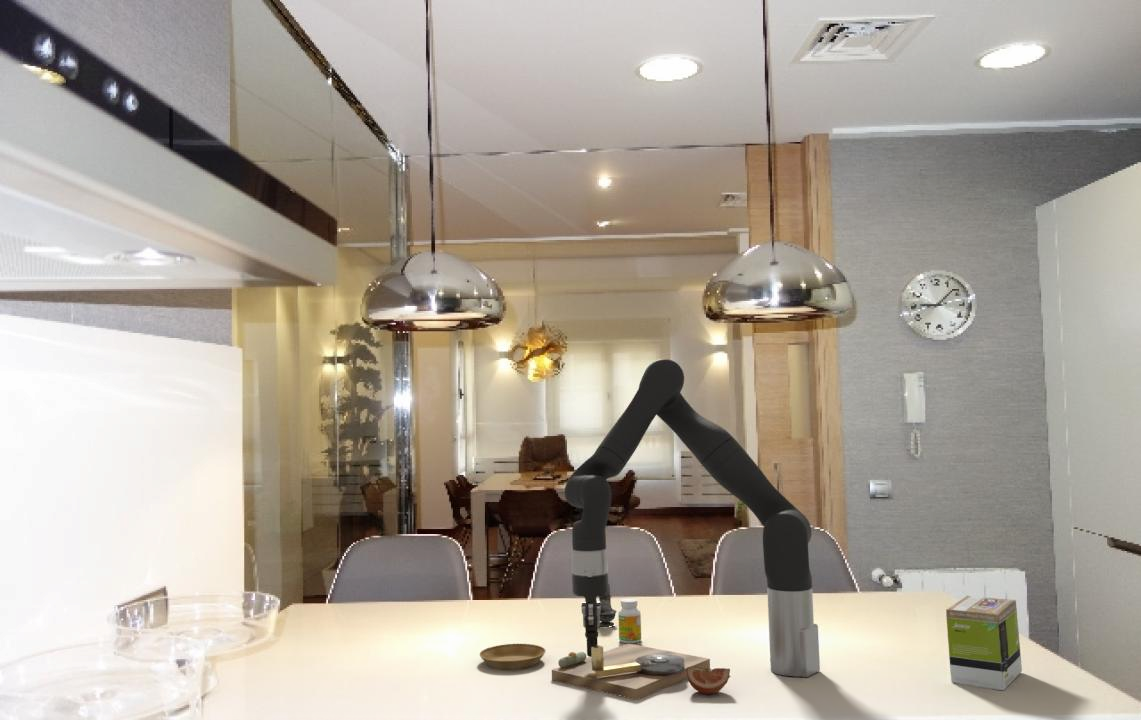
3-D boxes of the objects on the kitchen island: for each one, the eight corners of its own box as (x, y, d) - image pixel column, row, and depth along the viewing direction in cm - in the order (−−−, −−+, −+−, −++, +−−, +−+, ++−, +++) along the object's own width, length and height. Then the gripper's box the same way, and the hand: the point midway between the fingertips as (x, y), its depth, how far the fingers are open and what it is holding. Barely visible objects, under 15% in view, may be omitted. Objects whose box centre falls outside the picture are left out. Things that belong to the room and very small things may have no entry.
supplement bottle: (615, 642, 211) (614, 601, 212) (624, 637, 216) (623, 597, 217) (636, 644, 209) (634, 603, 209) (644, 639, 214) (643, 598, 214)
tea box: (970, 665, 185) (966, 594, 186) (1023, 673, 178) (1018, 599, 179) (949, 683, 173) (945, 607, 174) (1004, 692, 167) (999, 613, 168)
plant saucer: (486, 676, 188) (485, 663, 188) (474, 658, 202) (474, 647, 202) (553, 668, 191) (552, 656, 192) (537, 652, 206) (537, 640, 206)
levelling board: (710, 668, 188) (709, 646, 188) (636, 699, 168) (635, 675, 168) (628, 652, 202) (627, 632, 202) (551, 679, 183) (551, 657, 183)
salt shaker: (617, 622, 232) (616, 576, 233) (616, 628, 226) (615, 580, 227) (595, 622, 232) (593, 576, 233) (593, 628, 226) (592, 580, 227)
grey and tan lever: (669, 658, 188) (668, 630, 188) (693, 670, 178) (692, 641, 179) (582, 671, 180) (582, 642, 180) (603, 684, 171) (602, 653, 171)
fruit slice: (730, 688, 173) (729, 663, 174) (731, 699, 167) (730, 673, 167) (688, 687, 175) (687, 662, 175) (686, 698, 168) (685, 672, 169)
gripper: (573, 566, 190) (575, 647, 189) (570, 577, 177) (573, 665, 176) (607, 565, 190) (610, 647, 189) (608, 576, 177) (611, 664, 175)
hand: (592, 655), depth 182 cm, fingers closed
